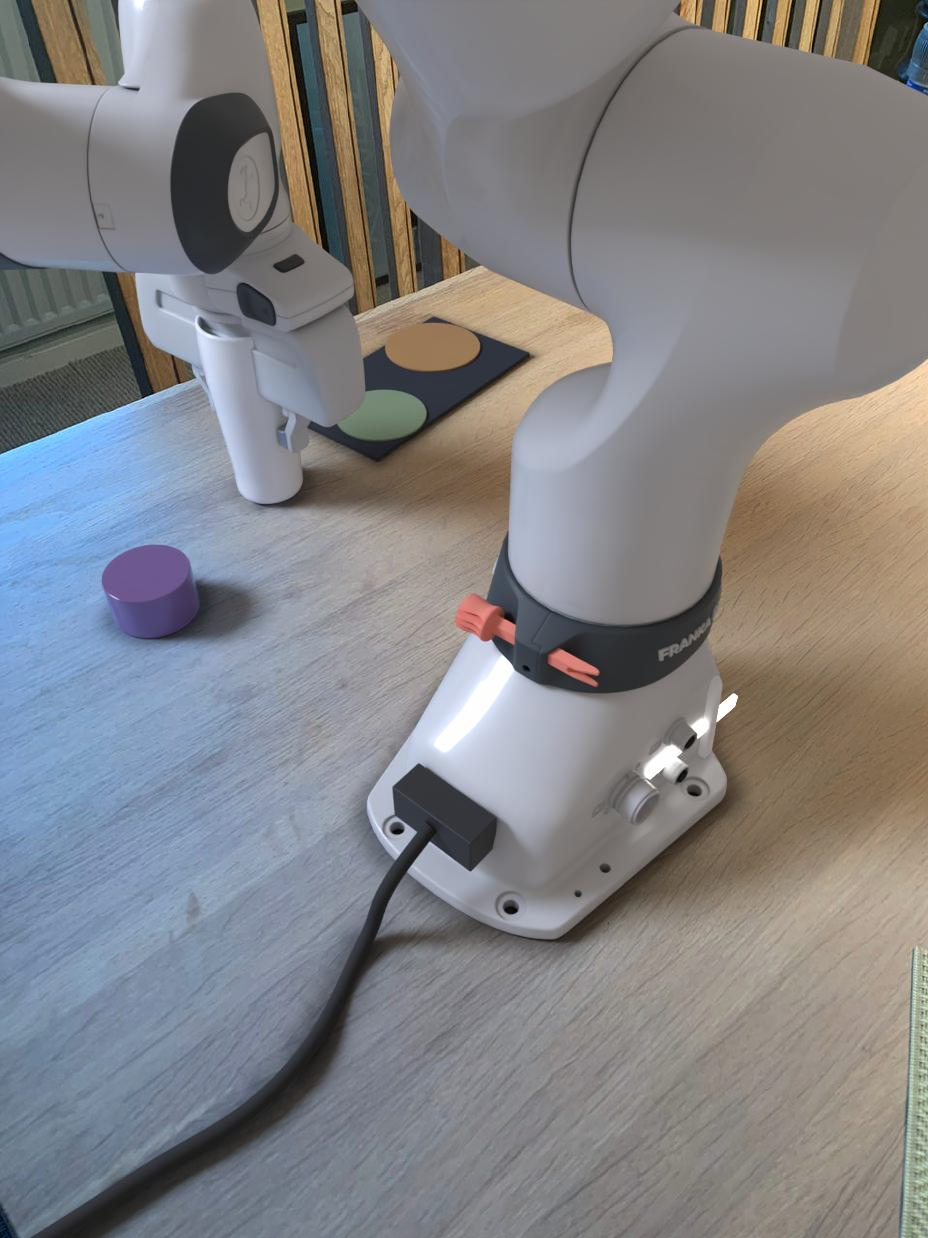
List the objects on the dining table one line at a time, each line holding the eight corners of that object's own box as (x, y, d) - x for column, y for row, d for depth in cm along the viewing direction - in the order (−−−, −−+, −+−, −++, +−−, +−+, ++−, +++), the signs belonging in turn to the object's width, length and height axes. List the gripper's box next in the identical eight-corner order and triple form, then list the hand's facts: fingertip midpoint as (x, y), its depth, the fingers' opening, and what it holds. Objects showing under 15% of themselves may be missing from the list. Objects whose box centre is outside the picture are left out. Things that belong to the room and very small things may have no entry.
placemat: (377, 461, 83) (377, 456, 83) (272, 411, 89) (271, 405, 88) (529, 356, 96) (530, 350, 95) (429, 317, 101) (429, 312, 101)
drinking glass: (297, 517, 78) (270, 344, 67) (216, 507, 79) (177, 334, 68) (323, 468, 83) (302, 298, 72) (246, 458, 84) (214, 290, 73)
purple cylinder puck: (150, 651, 68) (139, 614, 65) (96, 613, 70) (82, 577, 68) (217, 603, 71) (208, 567, 69) (163, 569, 74) (152, 533, 71)
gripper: (96, 232, 70) (141, 402, 80) (303, 317, 61) (326, 498, 71) (166, 204, 74) (201, 370, 83) (372, 280, 64) (385, 457, 74)
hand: (260, 429), depth 77 cm, fingers closed on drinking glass, 6 cm apart
